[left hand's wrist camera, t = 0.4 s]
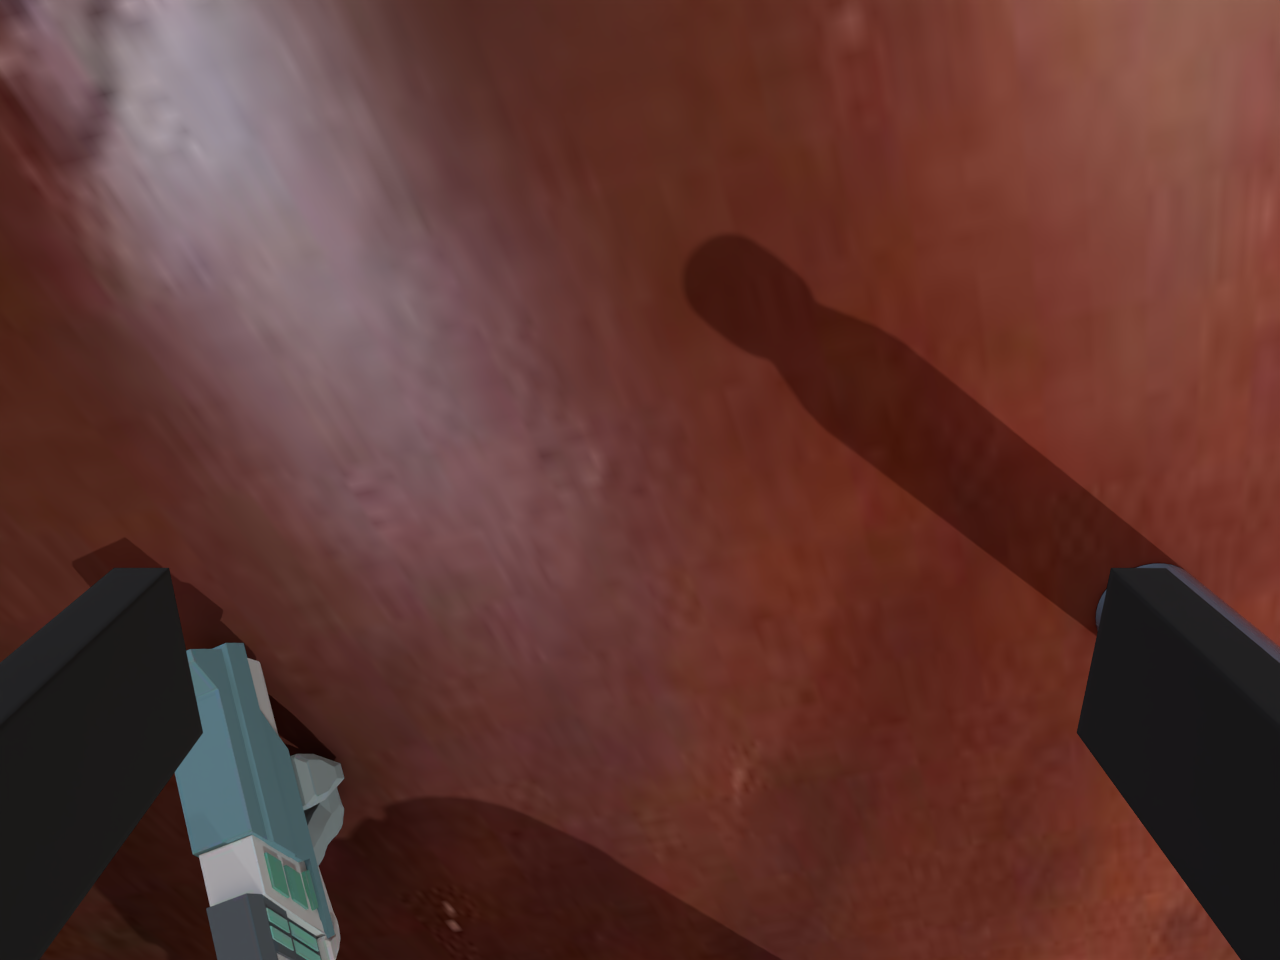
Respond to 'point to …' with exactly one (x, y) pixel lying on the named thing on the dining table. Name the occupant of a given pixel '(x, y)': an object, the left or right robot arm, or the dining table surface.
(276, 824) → the toy gun
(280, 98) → the dining table surface
